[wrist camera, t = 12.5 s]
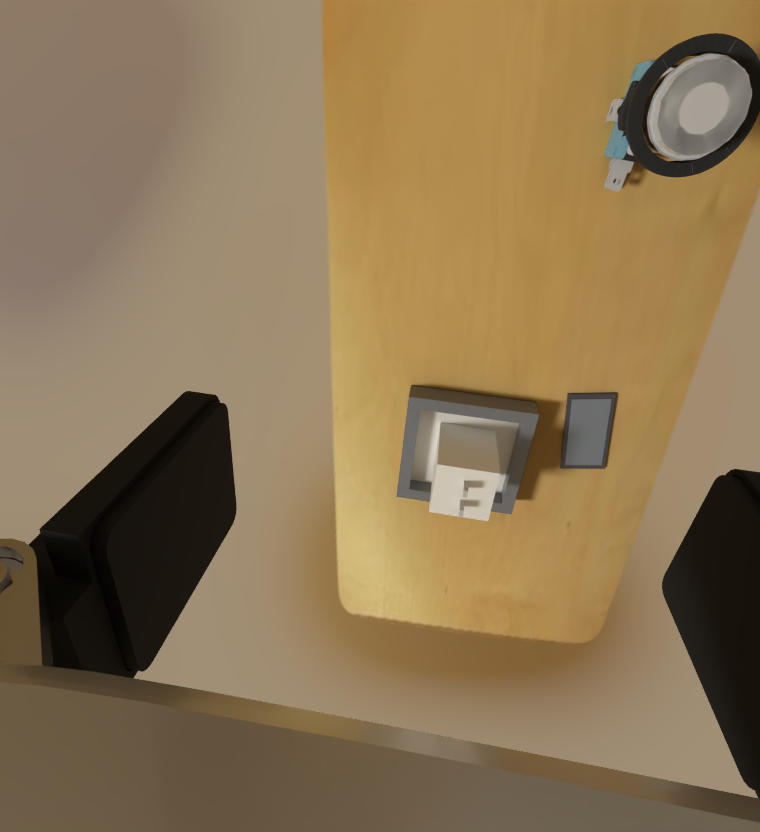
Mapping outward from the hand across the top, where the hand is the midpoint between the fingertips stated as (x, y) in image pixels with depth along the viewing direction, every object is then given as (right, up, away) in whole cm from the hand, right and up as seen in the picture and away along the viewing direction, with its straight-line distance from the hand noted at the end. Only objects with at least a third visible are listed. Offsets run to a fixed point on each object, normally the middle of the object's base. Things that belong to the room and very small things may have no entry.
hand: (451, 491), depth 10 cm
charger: (+6, -1, +32) cm, 33 cm away
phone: (+15, +1, +31) cm, 34 cm away
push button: (+13, +19, +20) cm, 31 cm away
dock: (+6, -1, +33) cm, 33 cm away
